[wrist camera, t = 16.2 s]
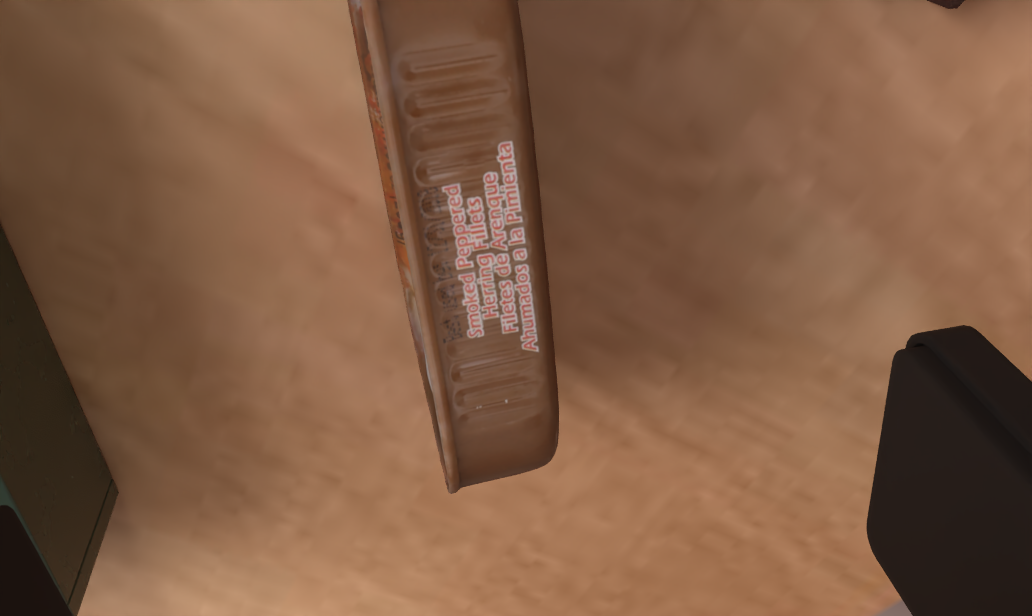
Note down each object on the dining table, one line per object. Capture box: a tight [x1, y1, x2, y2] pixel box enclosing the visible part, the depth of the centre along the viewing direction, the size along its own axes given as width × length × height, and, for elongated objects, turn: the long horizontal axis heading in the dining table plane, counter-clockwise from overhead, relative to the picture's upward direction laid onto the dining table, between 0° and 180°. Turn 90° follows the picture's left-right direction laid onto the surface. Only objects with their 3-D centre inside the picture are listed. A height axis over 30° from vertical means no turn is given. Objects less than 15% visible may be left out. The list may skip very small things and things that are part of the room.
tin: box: [348, 0, 559, 494], centre depth 20 cm, size 15×3×8 cm, turn 6°
